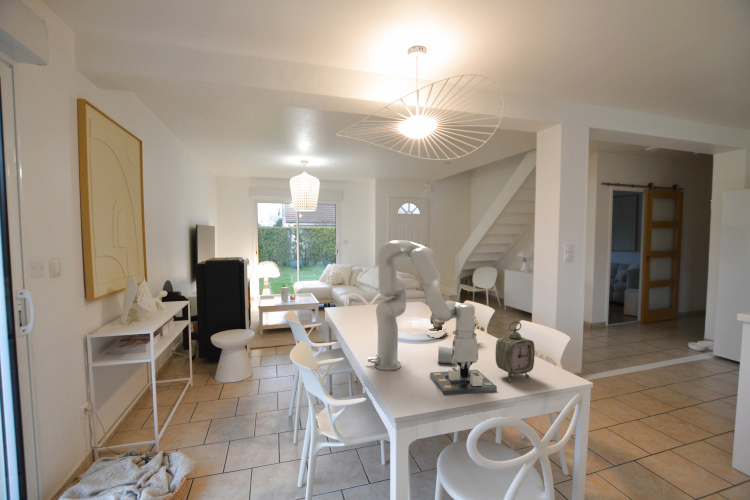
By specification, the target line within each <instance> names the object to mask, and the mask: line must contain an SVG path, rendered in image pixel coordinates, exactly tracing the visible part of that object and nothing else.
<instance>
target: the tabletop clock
mask: <svg viewBox="0 0 750 500" xmlns="http://www.w3.org/2000/svg"><path fill="white" fill-rule="evenodd" d="M514 324H519V327H518V328H517V327H514V328H513V329H511V326H512V325H514ZM521 328H522V323H521V322H519V321H513V322H511V323H510V324H509V326H508V329H509V330H510V331H511V332H509V334H508V336H504V337H501V338H498V339H497V340H496V343H495V352H494V353H495V354H494V355H495V363H496V366H497V368H498V369H500V370H502V371H504V372H506V373H507V376H508V378H507V379H506V382H508V383H511V382H512V379H511V377H512V375H514V376H518V375H519V376H520V375H523V374H525V378H526V379H529V378H530V375H529V374H527V373H529V372H531V371H533V369H534V367H535V366H534V365H535V358H536V357H535V343H534V341H533V340H530V339H528V338H525V337H523V336H522V335H521V334H520V332H518V331H520V330H521Z"/></svg>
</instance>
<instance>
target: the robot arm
mask: <svg viewBox="0 0 750 500" xmlns="http://www.w3.org/2000/svg"><path fill="white" fill-rule="evenodd" d="M435 258H436V256H435V253H434V251H433V249H431V248H430V247H429V246H428V247H427V246H425V245H422V244H419V243H416V242H413V241H410V240H406V239H405V240H401V239H400V240H399V239H395V240H391V241H387V242H385V243H383V245H382V246H381V247H380V248H379V251H378V253H377V262H378V292H379V294H380V295H381V296H382V297H384V298H387V299H383V300H382V301H380V302H378V304H377V306H376V309H375V316H376V321H377V354H376V355H375V356H373V357H367V362H368V363H371V364H373V365H374V367H375V368H376V369H378V370H380V371H386V372H388V371H396V370H398V369H400V368H401V366H402V363H401V362H400V361H399V359H398V356H399V355H398V354H399V353H398V352H399V351H398V349H399V348H398V347H399V343H398V342H399V334H398V333H399V332H398V331H399V329H398V322H397V317H401V316H402V315H403V314H404V313H405V311H406V309H407V307H406V306H407V286H406V281H405V280H404V278H403V277H402V276H400V275H398V274H397V273H398V272H397V264H396V260H399V259H408V260H410V263H411V265H412V266H413V268H414V270H415V272H416V274H417V276H418V277H419V280H420V282H421V283H422V285H423V293H424V297H425V301H426V303H427V304H426V305H427V306H428V309H429V310H430V313H431V315H432V314H433V315H434V317H435V318H436V319H437V320H438V321H440V322H445V323H446V322H449V321H451V320H453V319H455V329H454V331H452V335H453V340H452V346H451V348H452V364H453V365H457V366H458V365H459V366H460V375H461V376H462V377H463V378H468V369H469V370H470V367H471V366H472V364H475V363H477V362H478V360H479V345H478V339H477V336H476V337H475V336H474V333H475V331H474V330H475V329H474V327H475V328H476V326H475V324H476V322H475V320H476V318H475V317H476V316H475V314H476V308H475V306H474V304H471V303H467V302H466V303H465V302H464V303H463V302H462V303H461V302H457V301H454V300H445V299H444V297H443V294H442V292H441V280H442V279H441V278H442V277H441V274H440V273H439V271H438V269H437V267H436V266H435V263H434V261H435ZM464 362H465V363H464Z"/></svg>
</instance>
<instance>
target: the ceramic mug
mask: <svg viewBox="0 0 750 500" xmlns="http://www.w3.org/2000/svg"><path fill="white" fill-rule="evenodd" d="M437 363H443V364H451V365H452V364H453V363H452V347H447V346H441V345H440V346H439V345H438V356H437Z"/></svg>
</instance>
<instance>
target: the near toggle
mask: <svg viewBox="0 0 750 500" xmlns="http://www.w3.org/2000/svg"><path fill="white" fill-rule="evenodd" d="M480 373H481V372H480ZM480 373H473V374H470V384H471V385H472V386H482V381H483V376H482V375H481V374H480Z"/></svg>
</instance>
